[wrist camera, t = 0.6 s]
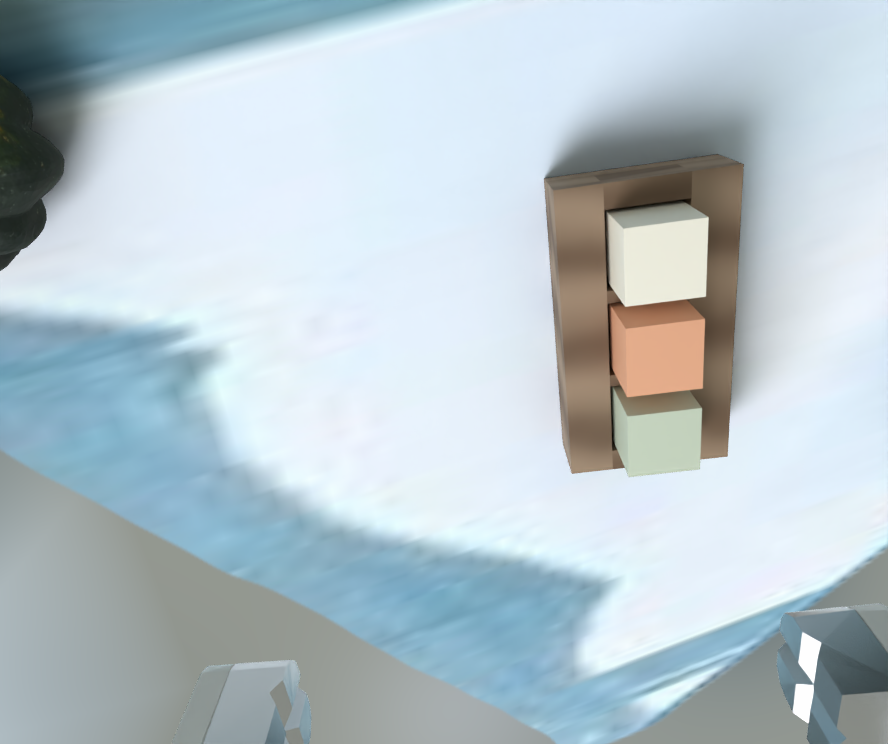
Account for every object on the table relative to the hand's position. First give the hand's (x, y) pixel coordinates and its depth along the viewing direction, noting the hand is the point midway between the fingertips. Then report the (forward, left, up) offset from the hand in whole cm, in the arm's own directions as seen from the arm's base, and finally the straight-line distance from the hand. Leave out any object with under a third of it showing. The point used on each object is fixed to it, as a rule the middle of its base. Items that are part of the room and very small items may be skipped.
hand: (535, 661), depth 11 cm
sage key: (+17, +11, -37) cm, 42 cm away
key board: (+10, +11, -40) cm, 43 cm away
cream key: (+4, +11, -36) cm, 38 cm away
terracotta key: (+10, +11, -37) cm, 40 cm away
